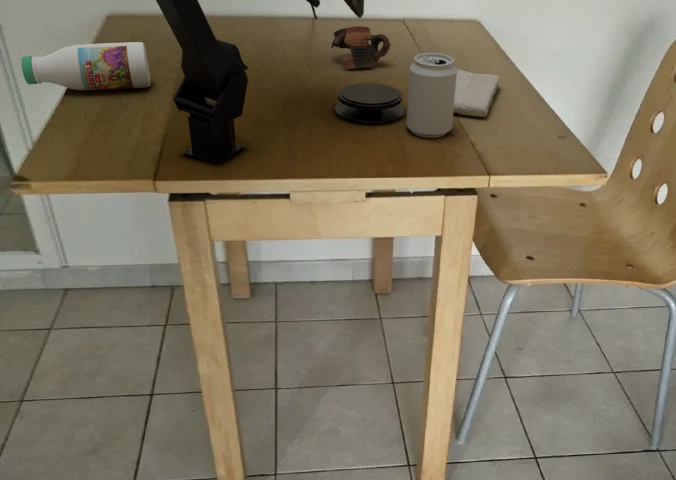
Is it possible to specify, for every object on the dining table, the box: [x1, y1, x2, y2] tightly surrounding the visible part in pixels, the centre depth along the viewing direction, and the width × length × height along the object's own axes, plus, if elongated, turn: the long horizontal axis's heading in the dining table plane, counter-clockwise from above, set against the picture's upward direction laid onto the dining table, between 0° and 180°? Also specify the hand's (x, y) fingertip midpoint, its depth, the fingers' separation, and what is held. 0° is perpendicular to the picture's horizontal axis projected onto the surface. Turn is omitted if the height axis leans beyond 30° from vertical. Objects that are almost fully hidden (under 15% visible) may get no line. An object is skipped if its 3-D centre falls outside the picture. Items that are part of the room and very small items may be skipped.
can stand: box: [334, 82, 406, 126], centre depth 122 cm, size 12×12×3 cm
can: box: [406, 52, 458, 139], centre depth 114 cm, size 8×8×12 cm
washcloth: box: [453, 69, 501, 118], centre depth 129 cm, size 12×18×3 cm, turn 167°
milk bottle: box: [21, 41, 151, 91], centre depth 124 cm, size 8×8×20 cm
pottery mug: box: [330, 25, 391, 71], centre depth 143 cm, size 12×10×8 cm
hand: (339, 10), depth 119 cm, fingers open, 9 cm apart
